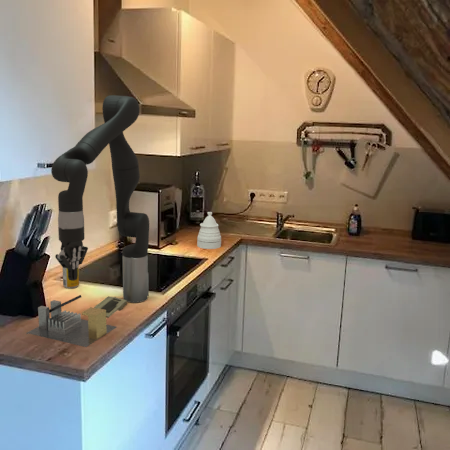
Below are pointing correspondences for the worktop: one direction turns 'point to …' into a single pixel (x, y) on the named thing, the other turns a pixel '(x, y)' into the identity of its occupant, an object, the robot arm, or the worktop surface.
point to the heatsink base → (64, 326)
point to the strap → (64, 303)
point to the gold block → (96, 322)
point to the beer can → (67, 282)
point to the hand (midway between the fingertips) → (72, 279)
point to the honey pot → (209, 234)
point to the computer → (111, 305)
